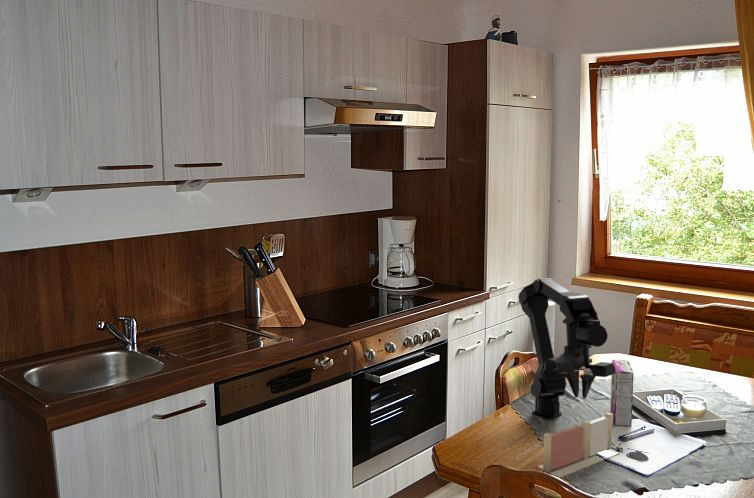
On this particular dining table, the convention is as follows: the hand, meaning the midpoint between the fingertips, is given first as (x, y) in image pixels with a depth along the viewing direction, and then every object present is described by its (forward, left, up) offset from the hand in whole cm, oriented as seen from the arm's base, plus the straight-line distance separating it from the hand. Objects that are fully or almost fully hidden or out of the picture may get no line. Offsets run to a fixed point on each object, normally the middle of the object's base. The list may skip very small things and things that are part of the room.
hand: (580, 397), depth 193 cm
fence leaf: (+7, -17, -12) cm, 22 cm away
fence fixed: (+8, -4, -12) cm, 15 cm away
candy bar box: (-1, +21, -12) cm, 24 cm away
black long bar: (-42, +37, -12) cm, 57 cm away
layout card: (+8, -11, -12) cm, 18 cm away
